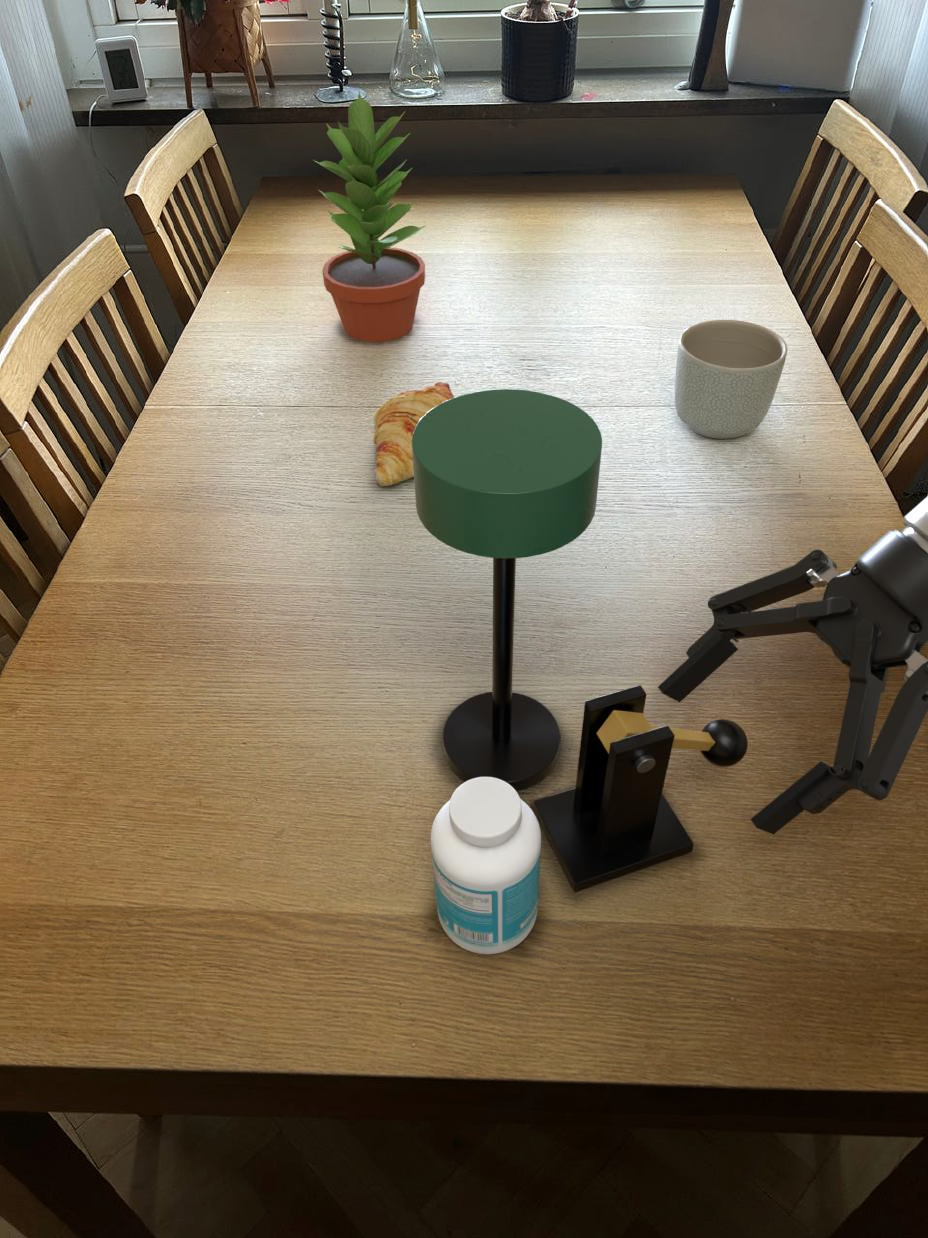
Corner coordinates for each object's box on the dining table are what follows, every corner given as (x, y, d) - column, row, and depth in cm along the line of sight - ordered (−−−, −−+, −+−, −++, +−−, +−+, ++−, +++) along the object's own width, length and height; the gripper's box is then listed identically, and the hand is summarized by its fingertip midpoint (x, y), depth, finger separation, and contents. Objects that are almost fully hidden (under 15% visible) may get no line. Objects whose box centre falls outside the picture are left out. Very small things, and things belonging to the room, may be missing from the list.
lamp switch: (713, 743, 74) (739, 711, 72) (737, 777, 71) (765, 745, 70) (587, 731, 67) (613, 696, 65) (609, 769, 64) (637, 733, 62)
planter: (777, 451, 112) (799, 369, 104) (674, 451, 112) (688, 369, 104) (756, 397, 121) (774, 318, 113) (660, 398, 121) (672, 319, 113)
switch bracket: (643, 774, 78) (665, 660, 68) (691, 852, 72) (723, 740, 63) (532, 809, 75) (539, 696, 66) (574, 893, 70) (588, 782, 60)
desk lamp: (594, 778, 77) (636, 468, 56) (459, 821, 75) (447, 511, 53) (538, 679, 86) (555, 375, 64) (413, 714, 83) (388, 408, 61)
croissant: (408, 522, 108) (436, 478, 102) (333, 477, 107) (356, 429, 101) (463, 424, 122) (490, 381, 117) (398, 383, 121) (422, 337, 115)
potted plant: (350, 360, 130) (325, 126, 109) (316, 315, 140) (287, 94, 119) (447, 337, 134) (441, 108, 113) (408, 296, 144) (395, 79, 123)
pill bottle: (519, 856, 72) (523, 748, 63) (551, 943, 67) (561, 838, 58) (425, 881, 71) (416, 773, 61) (451, 971, 66) (445, 868, 56)
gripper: (1094, 703, 59) (832, 901, 65) (847, 487, 76) (659, 662, 82) (1064, 667, 54) (784, 885, 60) (807, 444, 71) (611, 634, 77)
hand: (711, 757), depth 71 cm, fingers open, 13 cm apart
